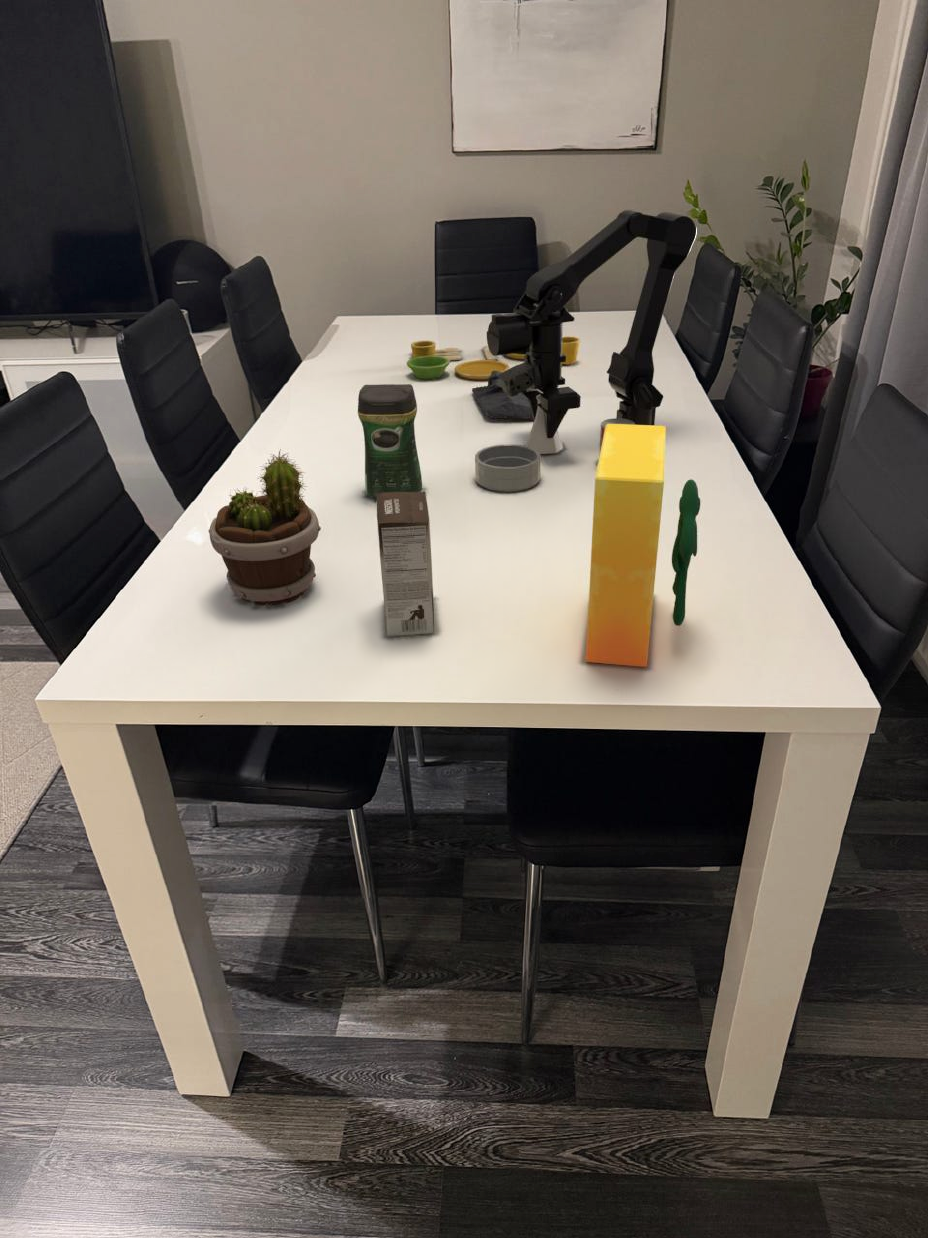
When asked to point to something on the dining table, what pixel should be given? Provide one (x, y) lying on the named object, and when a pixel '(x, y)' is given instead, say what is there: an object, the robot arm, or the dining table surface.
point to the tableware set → (434, 364)
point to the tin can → (612, 421)
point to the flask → (542, 435)
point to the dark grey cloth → (501, 401)
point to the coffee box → (406, 562)
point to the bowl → (507, 467)
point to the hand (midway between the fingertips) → (544, 432)
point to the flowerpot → (268, 538)
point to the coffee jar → (389, 438)
